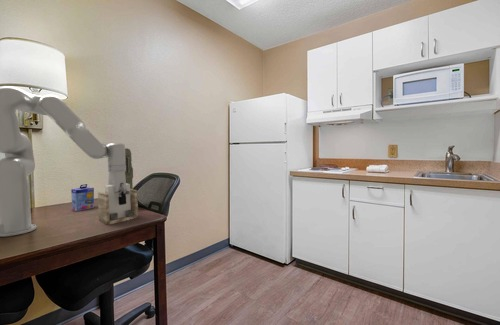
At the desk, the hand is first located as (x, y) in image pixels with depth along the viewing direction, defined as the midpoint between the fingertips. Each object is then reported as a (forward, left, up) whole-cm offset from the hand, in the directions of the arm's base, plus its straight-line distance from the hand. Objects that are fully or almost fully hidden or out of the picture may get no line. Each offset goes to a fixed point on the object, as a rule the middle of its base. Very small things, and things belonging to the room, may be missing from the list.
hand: (118, 202), depth 117 cm
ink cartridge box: (-5, +37, -8) cm, 38 cm away
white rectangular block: (0, 0, -7) cm, 7 cm away
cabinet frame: (0, 0, -8) cm, 8 cm away
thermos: (+13, +23, -8) cm, 28 cm away
